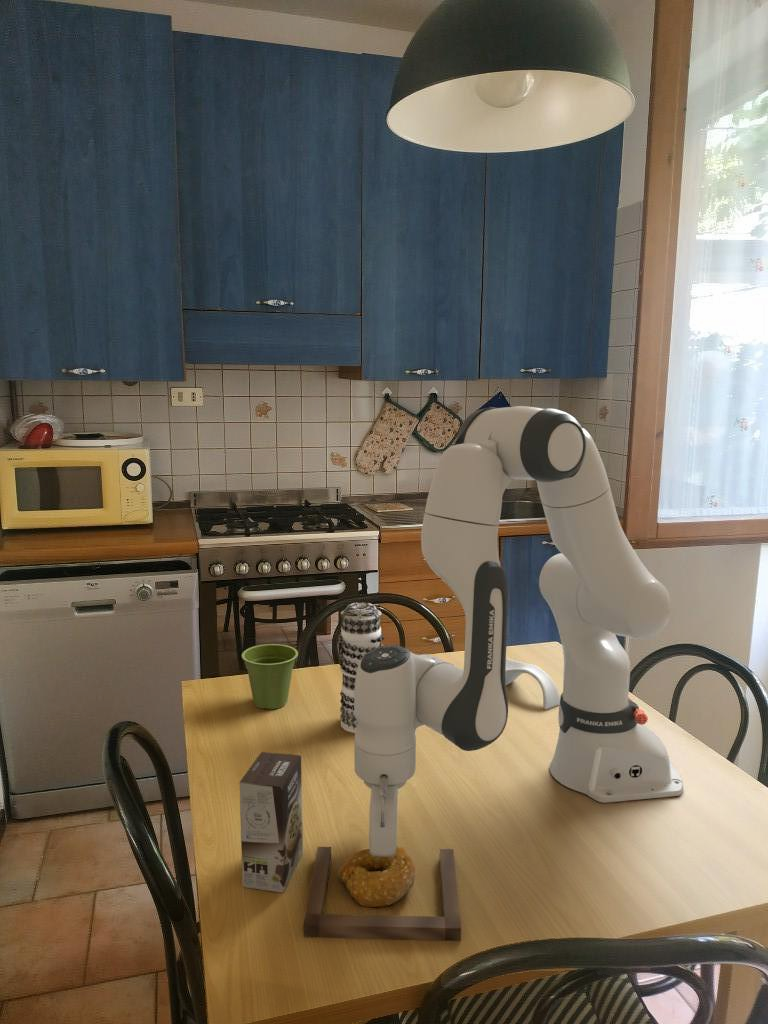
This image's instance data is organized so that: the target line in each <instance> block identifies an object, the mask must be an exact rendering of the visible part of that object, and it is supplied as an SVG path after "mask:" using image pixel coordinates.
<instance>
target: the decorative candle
mask: <svg viewBox="0 0 768 1024" xmlns="http://www.w3.org/2000/svg"><path fill="white" fill-rule="evenodd" d="M382 614H383V613H382V612H381V610H379V609H378V608H377V606H376V605H375V604H372V603H370V602H365V601H364V602H353V603H350V604H348V605H347V606H346V607H345V609H344V610H341V612H340V616H341V625H342V626H341V628H340V629H341V630H340V631H341V632H340V634H339V635H337V636H338V637H337V638H338V647H337V648H338V650H339V657H338V658H339V663H338V664H339V666H340V668H339V669H340V670H339V671H340V672H341V674H342V682H341V691H340V692H339V695H340V697H341V698H340V699H339V700H340V707H339V708H340V709H339V710H340V715H339V717H340V720H341V721H340V725H341V728H342V729H344V730H345V731H346V732H349V733H353V734H355V733H356V730H357V721H356V718H355V714H354V690H355V679H356V673H357V669H358V665H359V663H360V660H361V658H362V657H363V656H364V655H365V654H366V653H367V652H369V651H371V650H373V649H375V648H377V647H381V646H384V644H383V643H381V642H382V641H384V640H385V635H384V634H382V627H381V619H380V618H381V616H382Z"/></svg>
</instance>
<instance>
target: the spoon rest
mask: <svg viewBox="0 0 768 1024" xmlns="http://www.w3.org/2000/svg"><path fill="white" fill-rule="evenodd" d="M522 674H528V675H529V676H531V677H533V679H535V680H536V681H537V682H538V684H539V686H540V689H541V690H542V696H543V698H542V699H543V700H542V701H543V709H544V710H549V709H551V708H554V707H557V706H559V704H560V693H559V691H558V688H557V686H556V684H555V682H554V680H552V678H551V677H550V675H548V673H547V672H545V671H544V669H542V668H540V667H539V666H537V665H535V664H532V663H524V662H520V661H517V660H513V659H509V658H506V667H505V684H506V686H508V685H509V684H510V683H512V682H514V681H515V680H517V678H518V677H519V676H521V675H522Z"/></svg>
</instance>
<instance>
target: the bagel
mask: <svg viewBox="0 0 768 1024" xmlns="http://www.w3.org/2000/svg"><path fill="white" fill-rule="evenodd" d="M338 876H339V877H338V878H339V880H340V881H341V883H343V884H344V886H346V889H347V892H349V894H350V897H352V898H353V899H354V900H355V902H356V903H358V904H360V905H361V906H363V907H364V908H365V907H367V908H368V907H369V908H376V907H379V908H381V907H382V908H384V907H387V906H390V905H392V904H394V903H396V902H398V901H399V900H401V899H402V898H403V897H404V896H405V895H406V894H408V893H409V891H411V888H413V885H414V884H415V883H414V882H415V880H416V866H415V863H414V862H413V860H412V858H411V856H410V855H409V854H408V853H407V851H406V850H405V849H404V848H403V847H400V846H398V845H396V854H395V856H393V857H375V856H372V855H371V854H370V851H369V848H367V849H361V850H359V851H356V852H355V853H353V854H352V855H351V856H349V857H348V858H347V859H346V860H345V862H344V863H343V864H342V865H341V866H340V868H339V870H338Z"/></svg>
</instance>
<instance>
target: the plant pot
mask: <svg viewBox="0 0 768 1024" xmlns="http://www.w3.org/2000/svg"><path fill="white" fill-rule="evenodd" d="M298 655H299V652H298V650H297V649H296V648H294V647H292V646H290V645H286V644H279V643H269V644H268V643H267V644H259V645H254V646H250V647H248V648H247V649H245V650H244V651H243V652H242V653H241V658H242V660H243V661H244V662H245V663H244V664H245V668H246V670H247V673H248V674H247V675H248V679H249V681H248V682H249V685H250V690H251V691H250V692H251V697H252V701H253V705H254V706H255V707H257V708H258V709H268V710H275V709H279V708H282V707H284V706H285V705H286V704H287V703H288V701H289V700H288V699H289V694H290V688H291V687H290V686H291V682H292V674H293V673H292V672H293V668H294V666H295V661H296V659H297V657H298Z"/></svg>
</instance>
